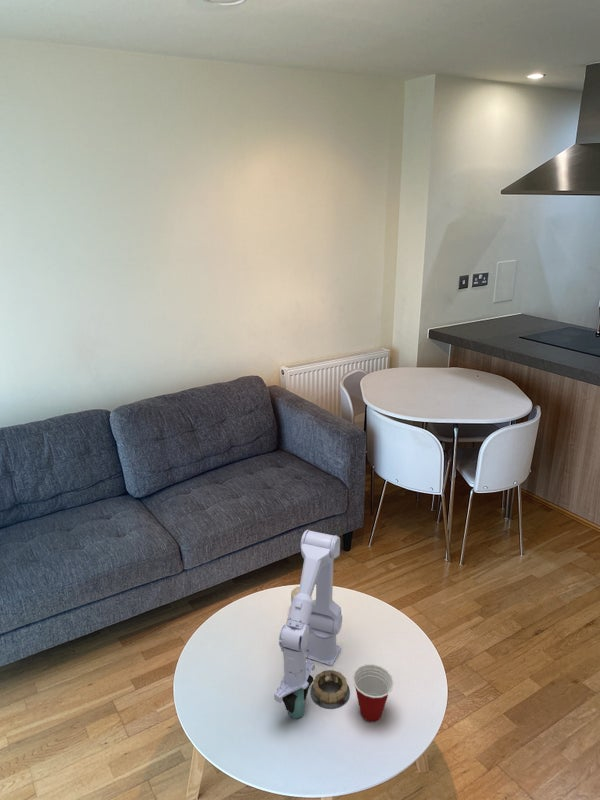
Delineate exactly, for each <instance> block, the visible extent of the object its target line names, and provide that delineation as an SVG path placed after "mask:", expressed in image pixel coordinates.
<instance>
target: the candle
mask: <svg viewBox="0 0 600 800" xmlns="http://www.w3.org/2000/svg"><path fill="white" fill-rule="evenodd" d="M299 587H300V586H296V587H295V588H293V589H292V590H291V592H290V601H291V602H290V603H292V599H293V597H294V596H295V595H297V594H298V593H299Z"/></svg>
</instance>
